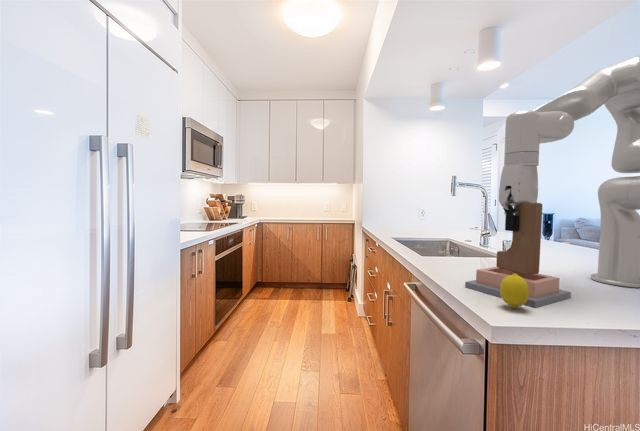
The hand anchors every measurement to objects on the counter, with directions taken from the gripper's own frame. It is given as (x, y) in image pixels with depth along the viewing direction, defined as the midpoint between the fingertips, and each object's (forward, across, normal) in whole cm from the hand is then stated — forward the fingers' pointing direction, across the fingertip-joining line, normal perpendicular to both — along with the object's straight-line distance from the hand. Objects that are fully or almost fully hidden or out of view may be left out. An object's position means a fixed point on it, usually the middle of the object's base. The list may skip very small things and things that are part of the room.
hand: (518, 229), depth 79 cm
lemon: (+17, +13, +7) cm, 22 cm away
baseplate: (+17, 0, 0) cm, 17 cm away
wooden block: (+11, 0, 0) cm, 11 cm away
